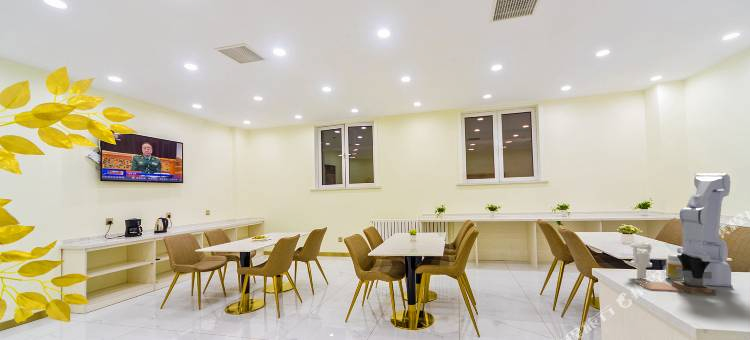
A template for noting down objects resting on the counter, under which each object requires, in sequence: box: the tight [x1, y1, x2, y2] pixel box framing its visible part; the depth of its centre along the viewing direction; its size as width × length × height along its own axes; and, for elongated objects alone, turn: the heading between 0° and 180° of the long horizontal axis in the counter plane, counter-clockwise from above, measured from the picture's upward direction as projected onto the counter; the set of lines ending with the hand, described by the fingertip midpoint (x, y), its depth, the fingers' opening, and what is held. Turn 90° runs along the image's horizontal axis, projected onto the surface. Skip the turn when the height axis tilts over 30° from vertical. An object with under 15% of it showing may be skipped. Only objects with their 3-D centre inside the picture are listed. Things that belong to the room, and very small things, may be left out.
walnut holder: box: [671, 280, 717, 296], centre depth 132 cm, size 9×9×2 cm
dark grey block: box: [675, 268, 712, 288], centre depth 133 cm, size 9×4×8 cm, turn 80°
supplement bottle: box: [665, 254, 683, 281], centre depth 148 cm, size 5×5×10 cm
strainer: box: [630, 242, 653, 280], centre depth 148 cm, size 7×7×15 cm
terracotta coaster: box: [634, 280, 681, 293], centre depth 136 cm, size 10×10×1 cm
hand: (693, 276), depth 133 cm, fingers closed on dark grey block, 4 cm apart
